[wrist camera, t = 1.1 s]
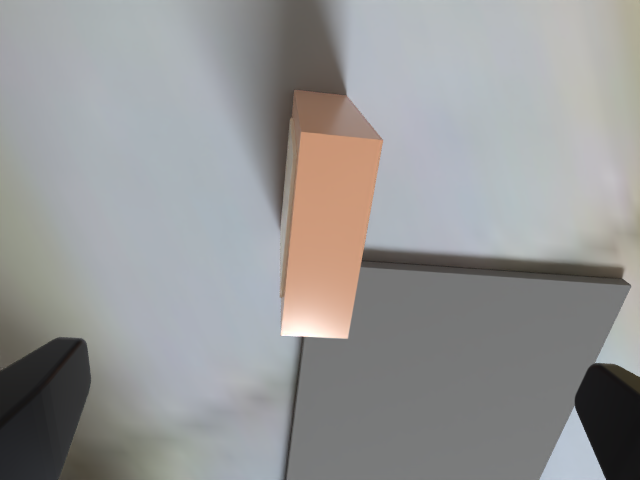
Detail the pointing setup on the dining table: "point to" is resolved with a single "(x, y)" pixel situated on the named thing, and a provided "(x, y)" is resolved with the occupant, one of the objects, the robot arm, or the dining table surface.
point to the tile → (325, 213)
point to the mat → (448, 374)
